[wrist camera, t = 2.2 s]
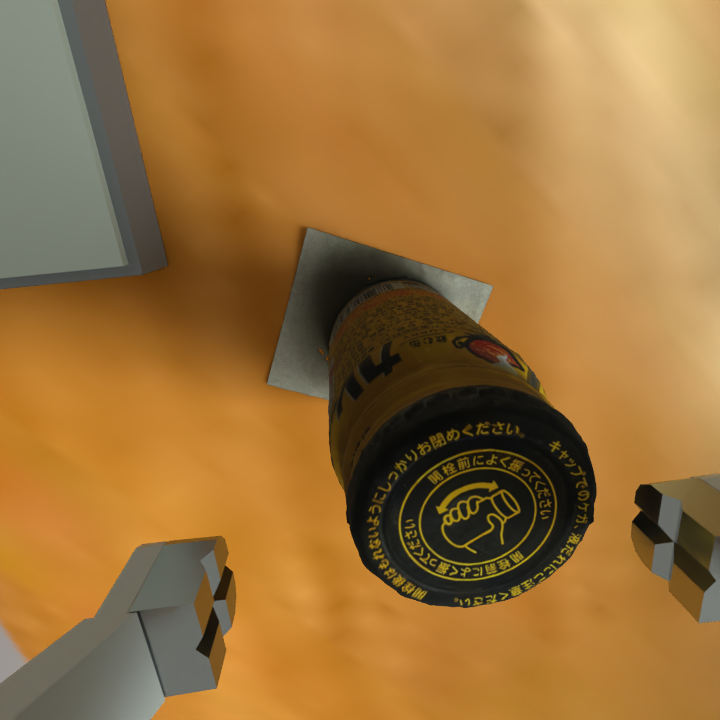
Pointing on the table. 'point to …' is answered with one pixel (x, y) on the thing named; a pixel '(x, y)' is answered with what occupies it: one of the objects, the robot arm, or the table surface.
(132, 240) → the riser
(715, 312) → the table surface
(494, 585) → the condiment
